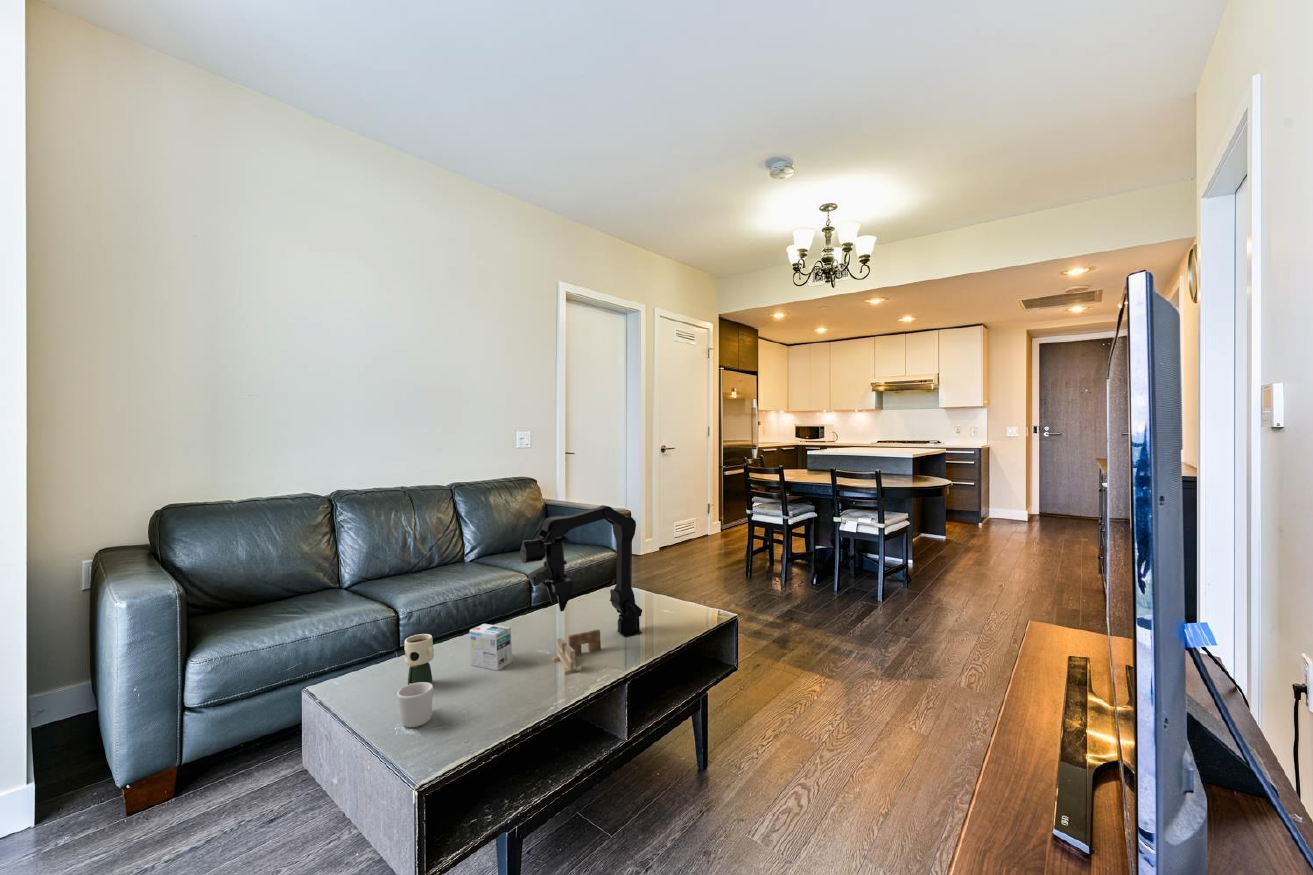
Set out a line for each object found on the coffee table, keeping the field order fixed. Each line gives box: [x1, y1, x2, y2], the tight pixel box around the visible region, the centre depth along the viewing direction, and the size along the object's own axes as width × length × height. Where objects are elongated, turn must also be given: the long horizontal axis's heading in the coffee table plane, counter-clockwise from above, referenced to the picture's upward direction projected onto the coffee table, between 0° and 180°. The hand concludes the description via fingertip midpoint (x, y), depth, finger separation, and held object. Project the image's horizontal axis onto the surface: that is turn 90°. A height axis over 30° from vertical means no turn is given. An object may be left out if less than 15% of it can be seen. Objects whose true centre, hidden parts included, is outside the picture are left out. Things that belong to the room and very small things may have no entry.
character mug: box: [404, 633, 435, 685], centre depth 152 cm, size 11×7×13 cm, turn 63°
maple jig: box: [551, 637, 582, 675], centre depth 162 cm, size 5×12×6 cm, turn 28°
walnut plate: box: [567, 629, 602, 657], centre depth 171 cm, size 10×1×6 cm, turn 118°
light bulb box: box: [469, 623, 513, 671], centre depth 165 cm, size 11×7×11 cm, turn 65°
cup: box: [396, 682, 434, 728], centre depth 133 cm, size 11×8×8 cm
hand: (557, 607), depth 174 cm, fingers open, 9 cm apart
